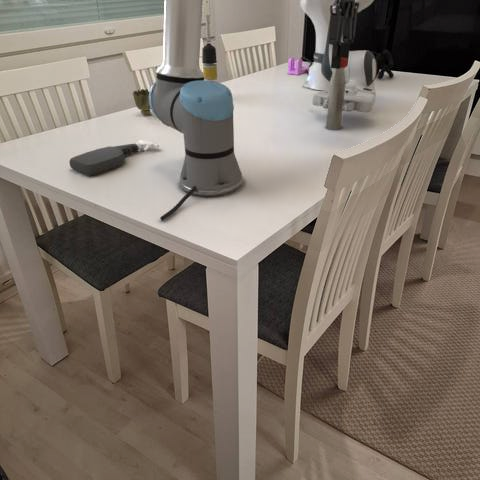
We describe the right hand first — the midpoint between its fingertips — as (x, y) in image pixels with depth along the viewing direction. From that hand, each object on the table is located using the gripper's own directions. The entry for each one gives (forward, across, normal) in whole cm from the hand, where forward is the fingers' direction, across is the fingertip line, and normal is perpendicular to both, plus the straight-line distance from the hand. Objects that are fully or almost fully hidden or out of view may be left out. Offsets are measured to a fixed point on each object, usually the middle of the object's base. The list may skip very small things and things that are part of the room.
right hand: (334, 107), depth 141 cm
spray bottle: (+55, -42, +7) cm, 69 cm away
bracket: (-74, -46, +7) cm, 87 cm away
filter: (-12, -56, +7) cm, 58 cm away
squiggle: (-80, -8, +7) cm, 80 cm away
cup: (+17, -65, +7) cm, 68 cm away
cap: (-1, 0, -14) cm, 14 cm away
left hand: (-1, 0, -12) cm, 12 cm away
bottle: (-1, 0, +7) cm, 7 cm away
